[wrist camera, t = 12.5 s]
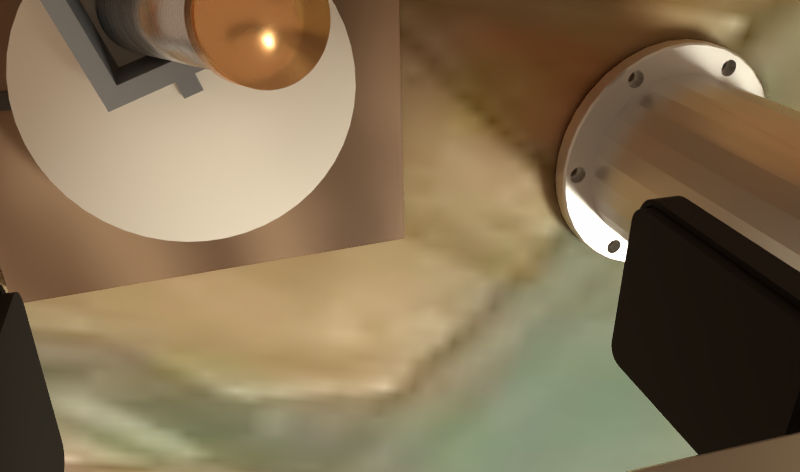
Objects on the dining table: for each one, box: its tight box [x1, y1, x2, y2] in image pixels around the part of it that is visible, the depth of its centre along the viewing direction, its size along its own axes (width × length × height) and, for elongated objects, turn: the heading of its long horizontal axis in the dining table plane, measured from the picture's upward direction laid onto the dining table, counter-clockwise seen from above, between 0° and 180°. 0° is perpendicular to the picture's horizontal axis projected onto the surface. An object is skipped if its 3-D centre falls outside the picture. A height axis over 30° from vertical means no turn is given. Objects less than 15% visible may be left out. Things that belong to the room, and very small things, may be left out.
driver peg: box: [95, 0, 331, 90], centre depth 22 cm, size 3×3×11 cm
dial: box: [6, 0, 356, 242], centre depth 28 cm, size 13×13×4 cm
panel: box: [0, 0, 405, 303], centre depth 30 cm, size 18×18×1 cm
